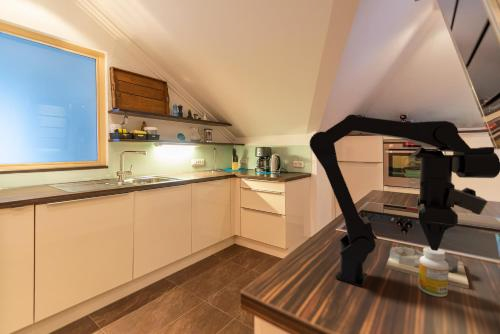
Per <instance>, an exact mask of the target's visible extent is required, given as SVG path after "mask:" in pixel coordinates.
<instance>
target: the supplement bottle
mask: <svg viewBox="0 0 500 334" xmlns="http://www.w3.org/2000/svg"><path fill="white" fill-rule="evenodd" d="M422 253H423V254H424V256H422V257H420V261H419V276H418V288H419V289H420V290H421V291H422V292H424V293H426V294H428V295H430V296H434V297H442V298H443V297H446V296H447V295H448V288H449V284H448V270H449V265H448V263H447V262H446V261H445V260H444V259H445V254H446V251H444V250H442V249H440V248H438V250H437V251H435V250H431V248H430V246H426V247H424V248H423V251H422Z"/></svg>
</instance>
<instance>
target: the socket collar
mask: <svg viewBox="0 0 500 334" xmlns="http://www.w3.org/2000/svg"><path fill="white" fill-rule="evenodd" d="M401 254H404V255H409V256H413V257H416V258H409V257H405V256H401ZM422 256H424V254H423V251H421V250H418V249H415V248H411V247H407V246H395V247H393V246H392V247H391V248H390V250H389V257H390V258H391V259H392V260H394V261H396V262H397V263H399V264H403V265H407V266H411V267H419V261H420V257H422Z"/></svg>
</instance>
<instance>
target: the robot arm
mask: <svg viewBox="0 0 500 334" xmlns="http://www.w3.org/2000/svg"><path fill="white" fill-rule="evenodd" d="M353 132H354V133H360V134H366V135H374V136H380V137H387V138H395V139H401V140H405V141H407V142H409V143H413V144H416V145H419V146H422V147H418V148H417V149H416V150H415V151H414V152H413V153H411V154H410V158H416V159H420V174H419V176H420V177H419V195H418V196H417V199H416V200H417V201H416V204H417V205H416V206H417V209H418V210H417V211H418V214H417V219H418V222H419V224H420V226H421V229H422V231H423V233H424V236H425V238H426V241H427V243H428V245H429V247H430V248H431V250H435V251H437V250H438V249H440V245H441V242H442V240H443V237H444V234H445V233H446V232H445V231H447V230H449V229H450V228H454V227H456V225H458V223H459V221H458V218H459V215H458V213H457V211H455V210H454V209H453V208H455V206H457V207H459V208H461V209H465V210H468V211H470V212H471V213H473V214H475V215H478V216H479V215H481V214H482V212H483V210H484V208H485V207H486V206H487V204H488V202H489V201H488V200H487V199H485V198H483V197H481V196H478V195H477V194H476V190H474V189H472V188H469V187H465V188H462V189H457V188H455V184H454V183H453V182H452V180H453V173H454V174H456V176H457V177H458V178H461V179H462V178H464V179H465V178H466V179H468V178H469V179H494V178H496V177H498V176H499V174H500V158H499V155H498V154H497V153H496V152H495V147H494V146H480V147H470V145H469V144H468V143H467V142H466V141H465V140H464V138H462V137H461V135H460V134H459V129H458V127H457V126H456V124H455V123H453V122H451V121H447V120H436V121H435V120H434V121H433V120H432V121H431V120H430V121H418V122H417V121H415V122H413V121H412V122H409V121H408V122H406V121H398V120H392V119H391V120H390V119H384V118H375V117H368V116H367V117H366V116H361V115H360V116H359V115H356V114H348V115H347V116H346V117H344V119H342V120H340V121H339V122H337V123H336V124H334V125H333V126H331V127H330V128H328V129H327V130H325V131H318V132H315V133H314V134H313V135H312V136H311V137H310V140H309V147H310V149H311V151H312V153H313V154H314V156H315V158H316V160H317V161H318V162H319V164H320V165H321V167H322V168H323V169H324V171H325V172H324V173H325V174H326V177H327V179H328V181H329V184H330V187H331V188H332V191H333V194H334V196H335V198H336V202H337V204H338V206H339V209H340V210H341V214H342V216H343V220H344V225H345V230H346V234H345V235H344V236H342V237H341V238H340V239H339V240H338V243H339V248H340V252H339V270H338V272H337V273H336V274H335V279H337V280H339V281H342V282H344V283H349V284H352V285H355V286H356V287H357V286H359V287H363V286H364V284H365V282H366V280H367V278H368V273H365V262H366V259H367V257H368V255H369V254H371V253H372V252H373V251H374V250H375V248H376V245H377V243H376V240H377V239H378V238H377V235H376V234H375V232H374V230H373V227H372V223H371V222H370V220H369V218H368V217H367V216H363V217H361V215H360V214H359V212H358V210H357V207H356V204H355V203H354V202H355V201H354V200H353V197H352V195H351V192H350V190H349V188H348V185H347V182H346V179H345V177H344V176H343V173H342V171H341V169H340V166H339V162H338V157H337V151H336V148H335V143H336V142H338V141H339V140H341V139H343V138H344V137H346V136H347V135H349V134H351V133H353ZM425 148H429V149H430V150H428V149H427V150H426V149H425ZM431 148H433V149H434V148H435V150H431ZM444 152H447V153H448V152H450V153H451V152H452V154H444Z"/></svg>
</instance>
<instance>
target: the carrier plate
mask: <svg viewBox="0 0 500 334" xmlns="http://www.w3.org/2000/svg"><path fill="white" fill-rule="evenodd" d="M401 256H405V257H409V258H416V257H413V256H409V255H404V254H401ZM385 264H386V265H385V266H386V269H389V270H393V271H397V272H401V273H405V274H408V275H412V276H416V277H419V267H411V266H407V265H403V264H399V263H397V262H396V261H394V260H392V259H391V258H390V256H388V259H387V262H386V263H385ZM448 285H452V286H455V287H459V288H463V289H467V290H468V289H469V286H470V284H469V280H468V278H467V273H466V271H465V267H464V263H463V261H459V260H458V272H456V273H449V272H448Z"/></svg>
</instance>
